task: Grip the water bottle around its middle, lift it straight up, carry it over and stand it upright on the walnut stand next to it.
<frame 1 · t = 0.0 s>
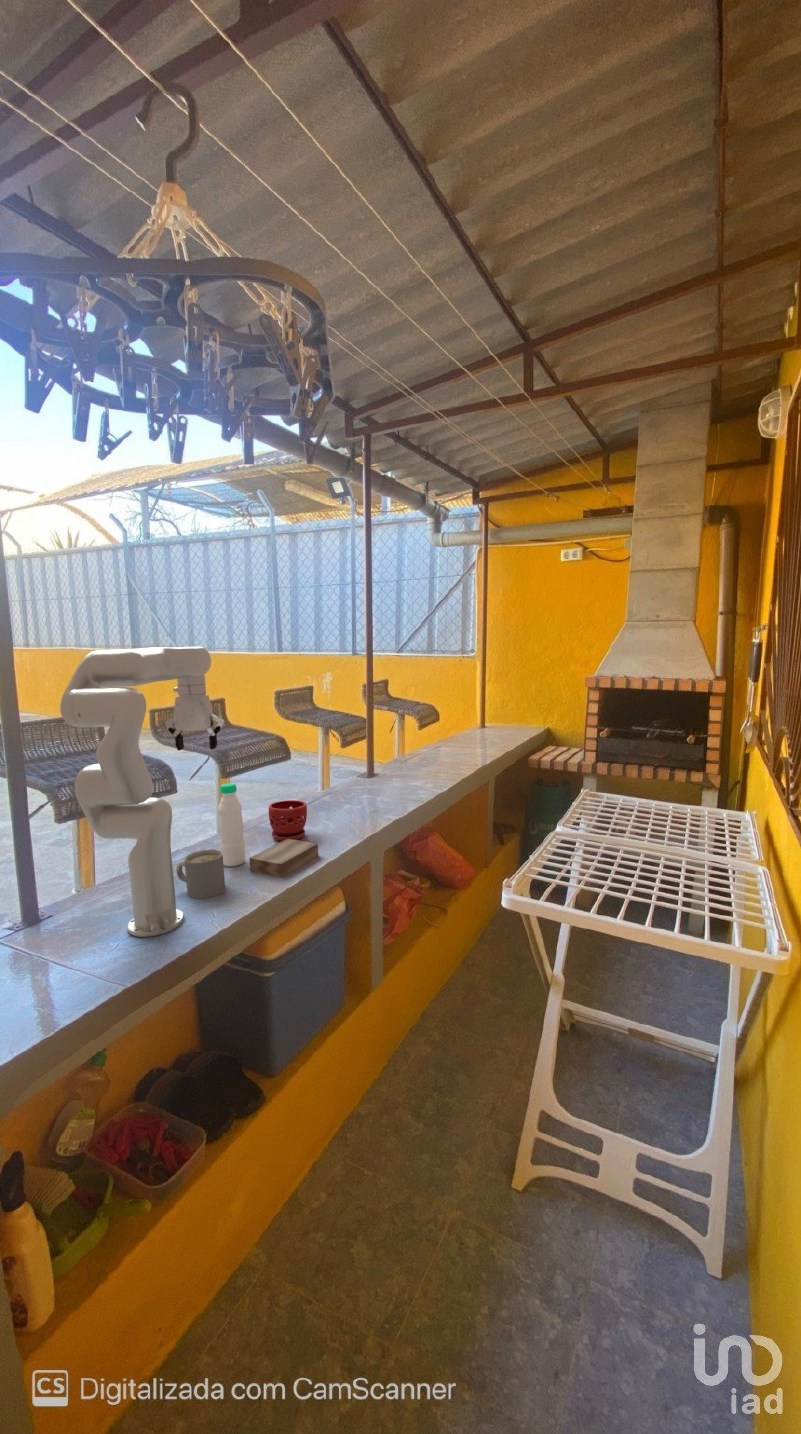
hand: (196, 749, 164), 37 cm above the table, tool pointing down, fingers open, 9 cm apart
coffee mug: (201, 890, 156), on the table
water bottle: (233, 863, 174), on the table
walnut stand: (285, 863, 173), on the table
plant pot: (289, 837, 197), on the table
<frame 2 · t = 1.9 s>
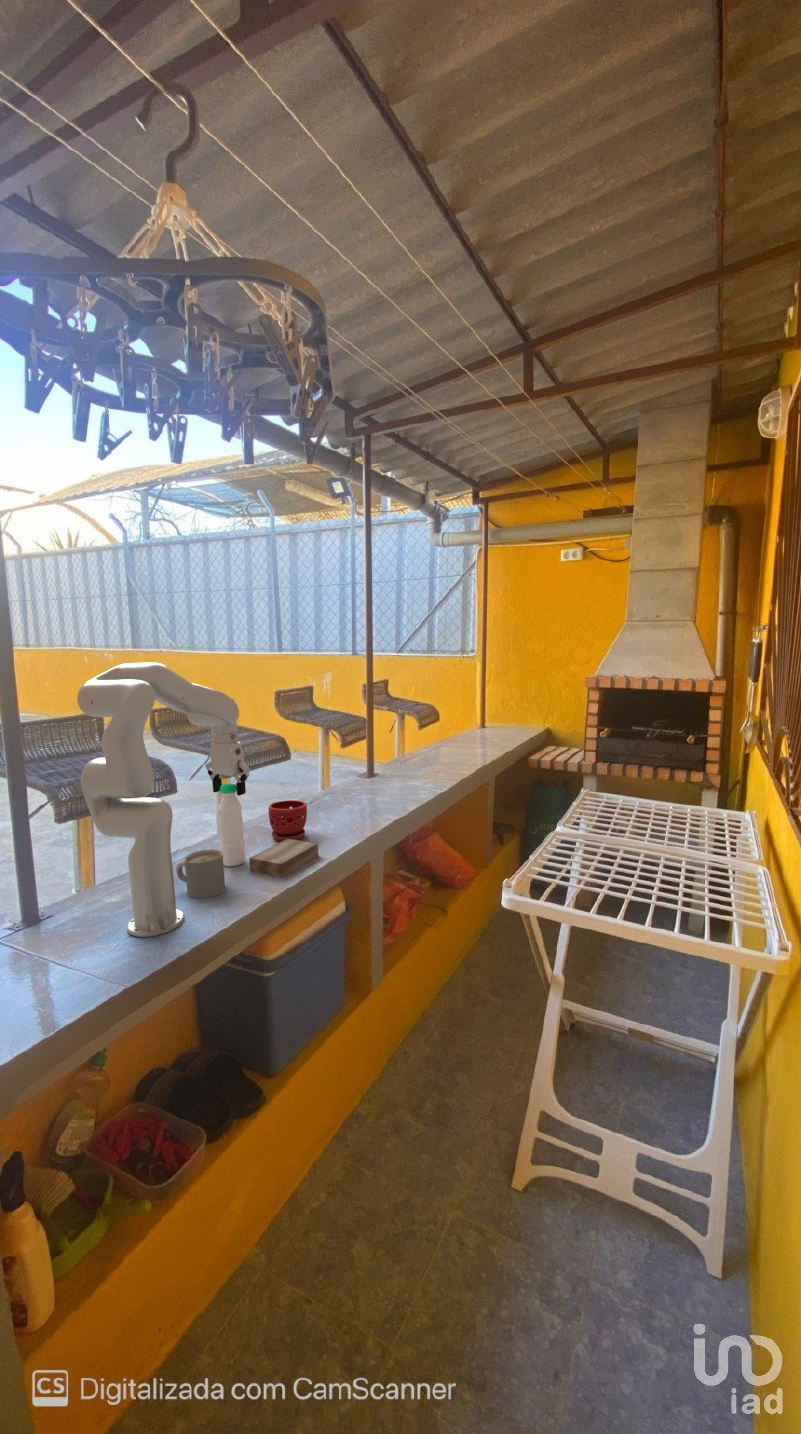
hand: (229, 792, 172), 22 cm above the table, tool pointing down, fingers open, 9 cm apart
nothing on the table moved.
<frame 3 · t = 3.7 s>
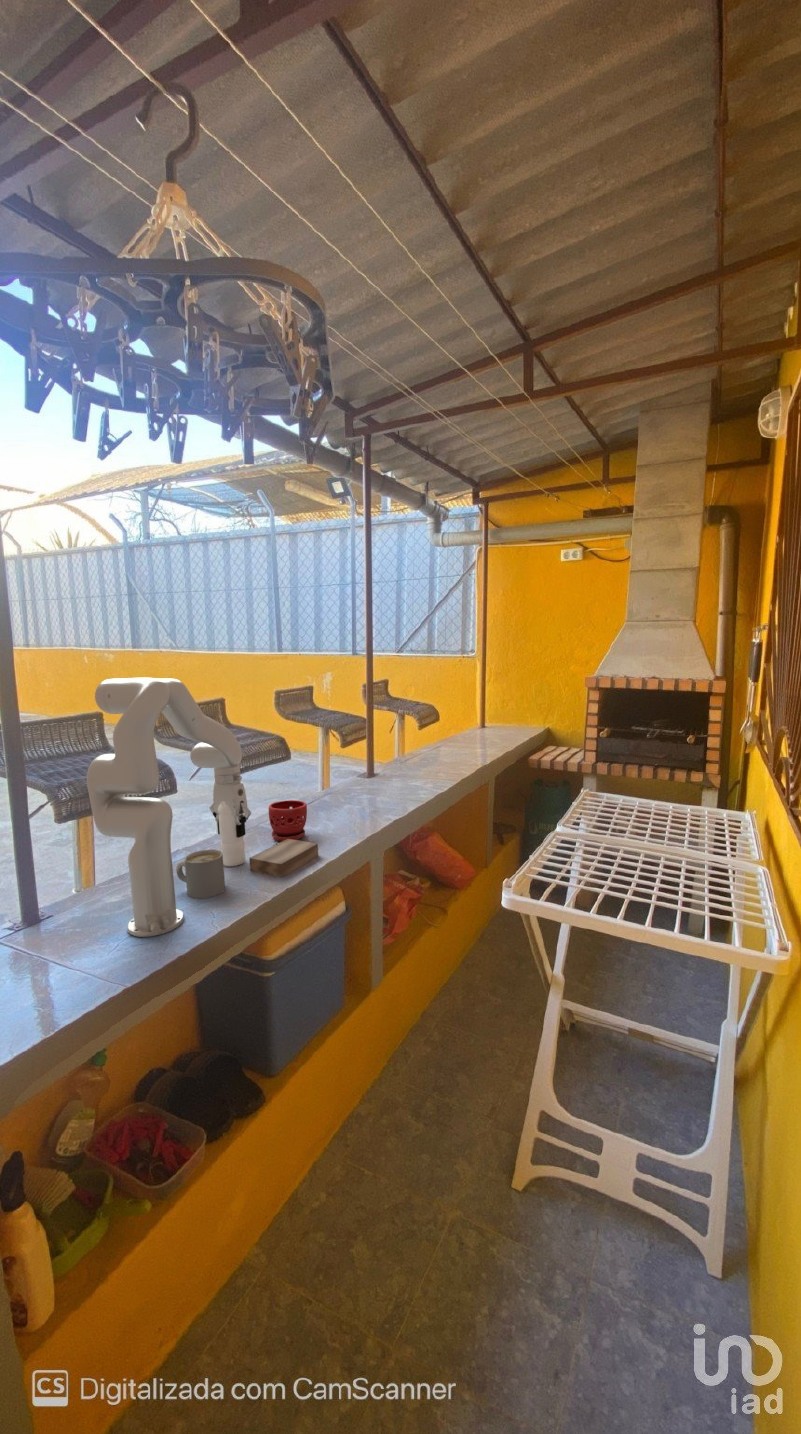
hand: (231, 834, 173), 9 cm above the table, tool pointing down, fingers closed on water bottle, 7 cm apart
water bottle: (233, 863, 174), on the table, touching gripper
everything else where it was.
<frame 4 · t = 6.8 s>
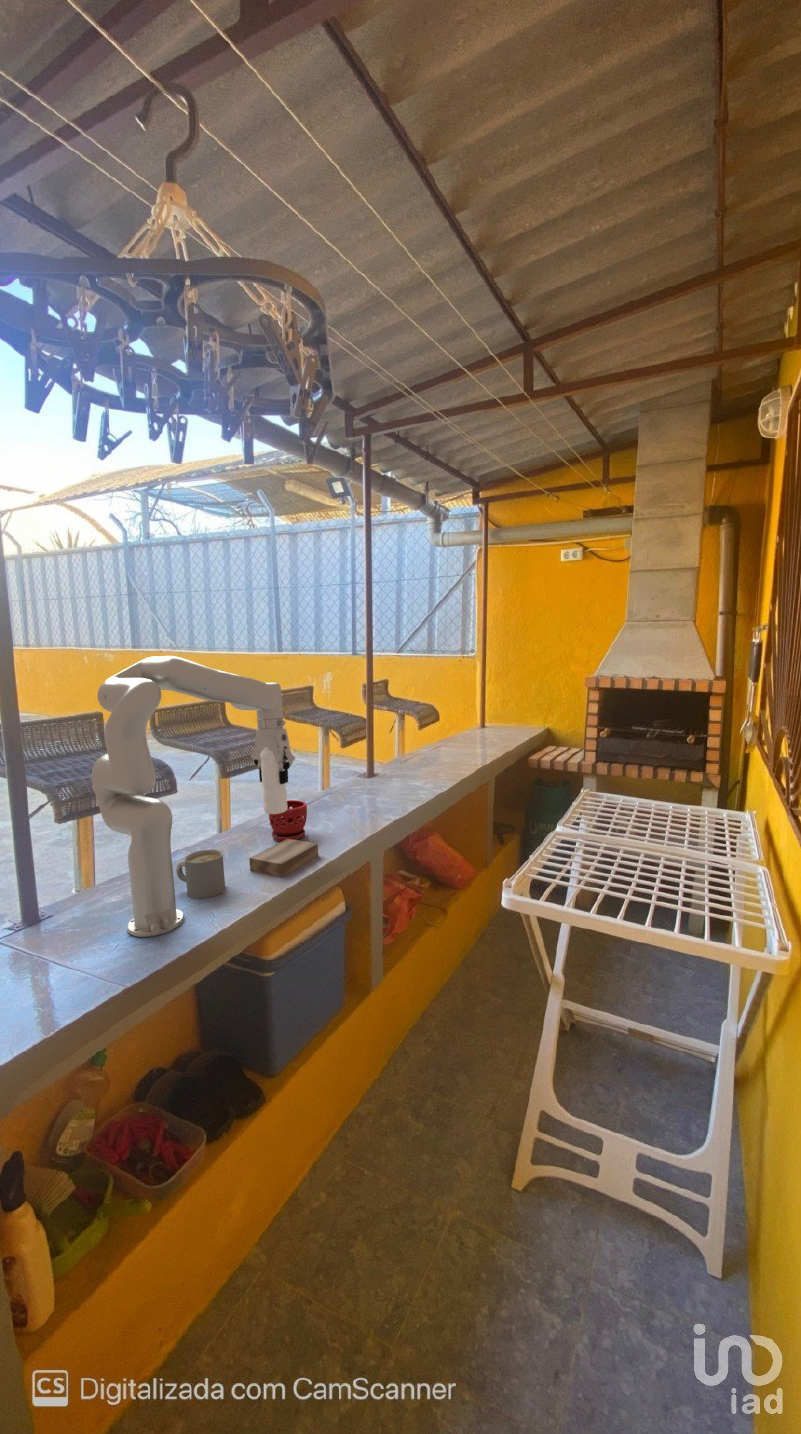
hand: (273, 781, 170), 26 cm above the table, tool pointing down, fingers closed on water bottle, 7 cm apart
water bottle: (275, 811, 171), point 16 cm above the table, touching gripper
everything else where it was.
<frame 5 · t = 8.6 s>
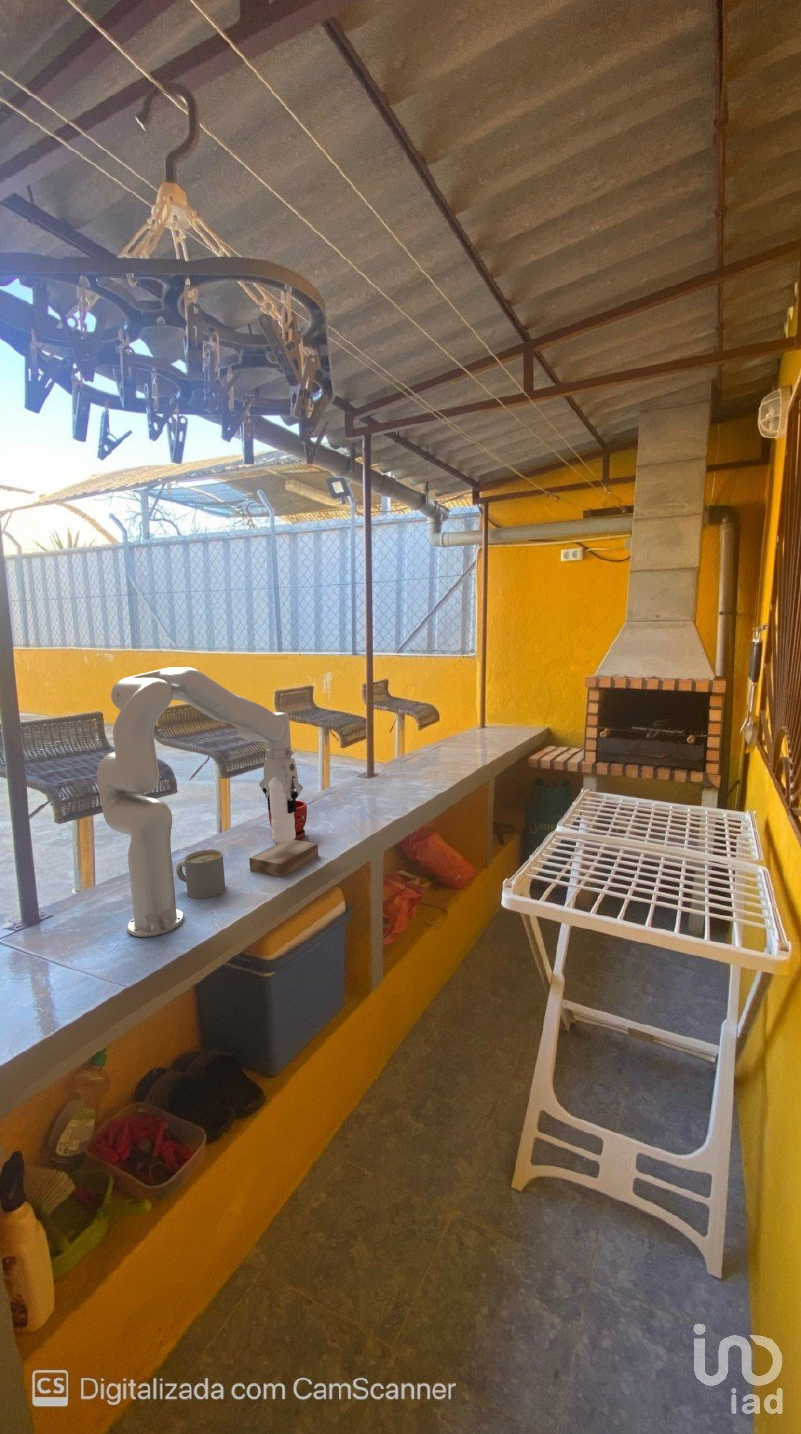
hand: (282, 810, 171), 17 cm above the table, tool pointing down, fingers closed on water bottle, 7 cm apart
water bottle: (284, 840, 172), point 7 cm above the table, touching gripper
everything else where it was.
when the fingers open (15 cm above the table, at t = 10.0 s): water bottle drops 1 cm, resting on walnut stand.
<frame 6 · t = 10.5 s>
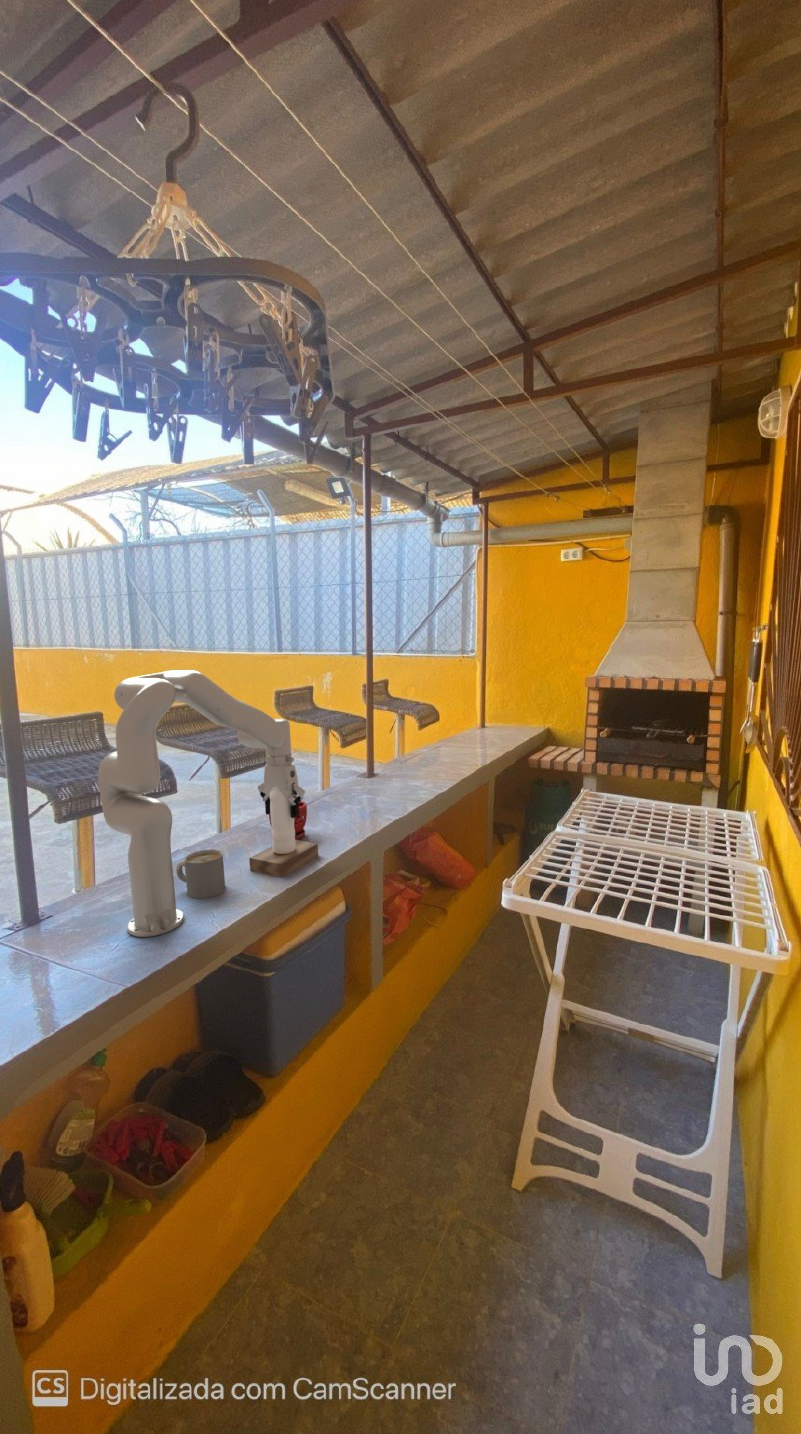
hand: (282, 815, 171), 15 cm above the table, tool pointing down, fingers open, 9 cm apart
water bottle: (284, 851, 172), point 4 cm above the table, touching walnut stand
everything else where it was.
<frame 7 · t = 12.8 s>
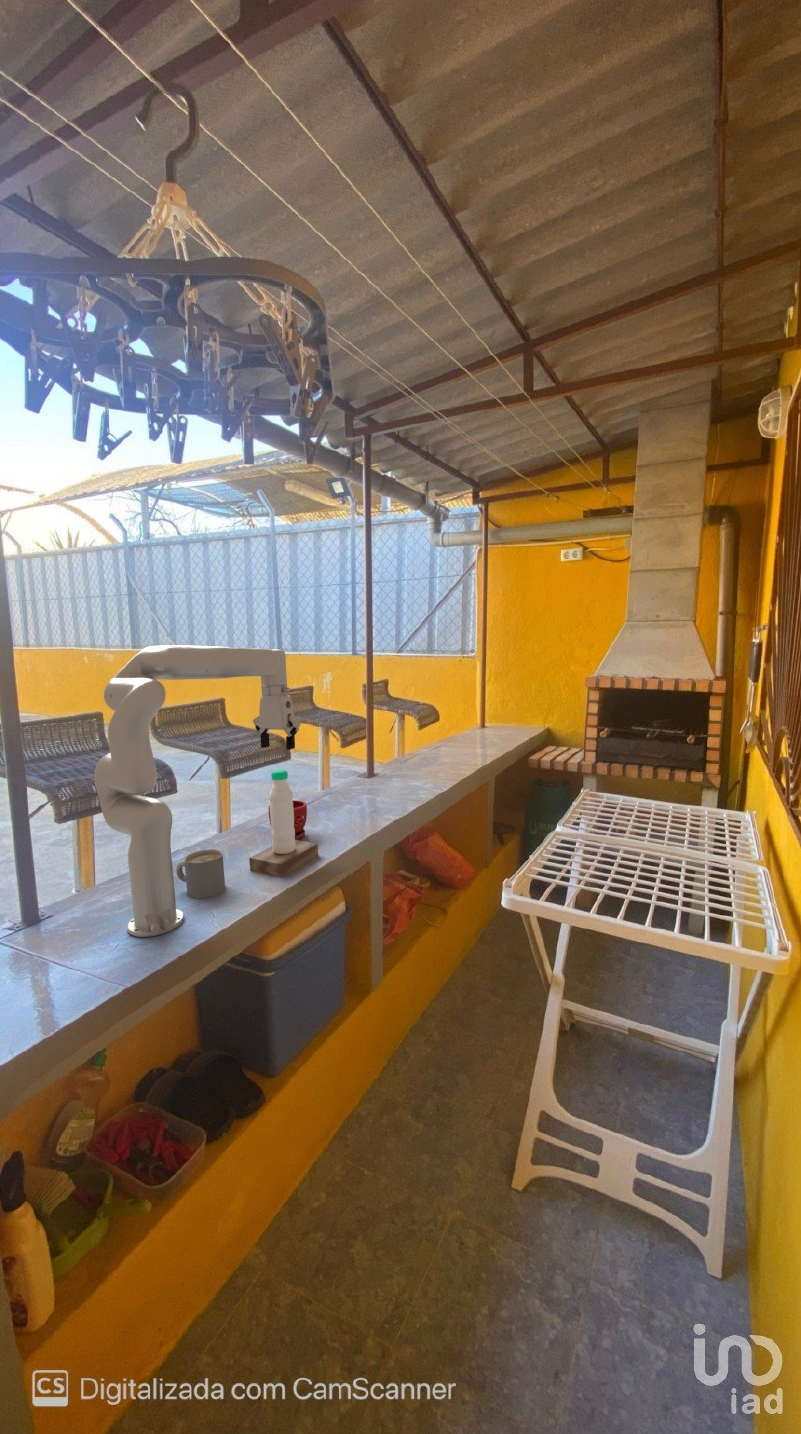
hand: (278, 748, 168), 36 cm above the table, tool pointing down, fingers open, 9 cm apart
nothing on the table moved.
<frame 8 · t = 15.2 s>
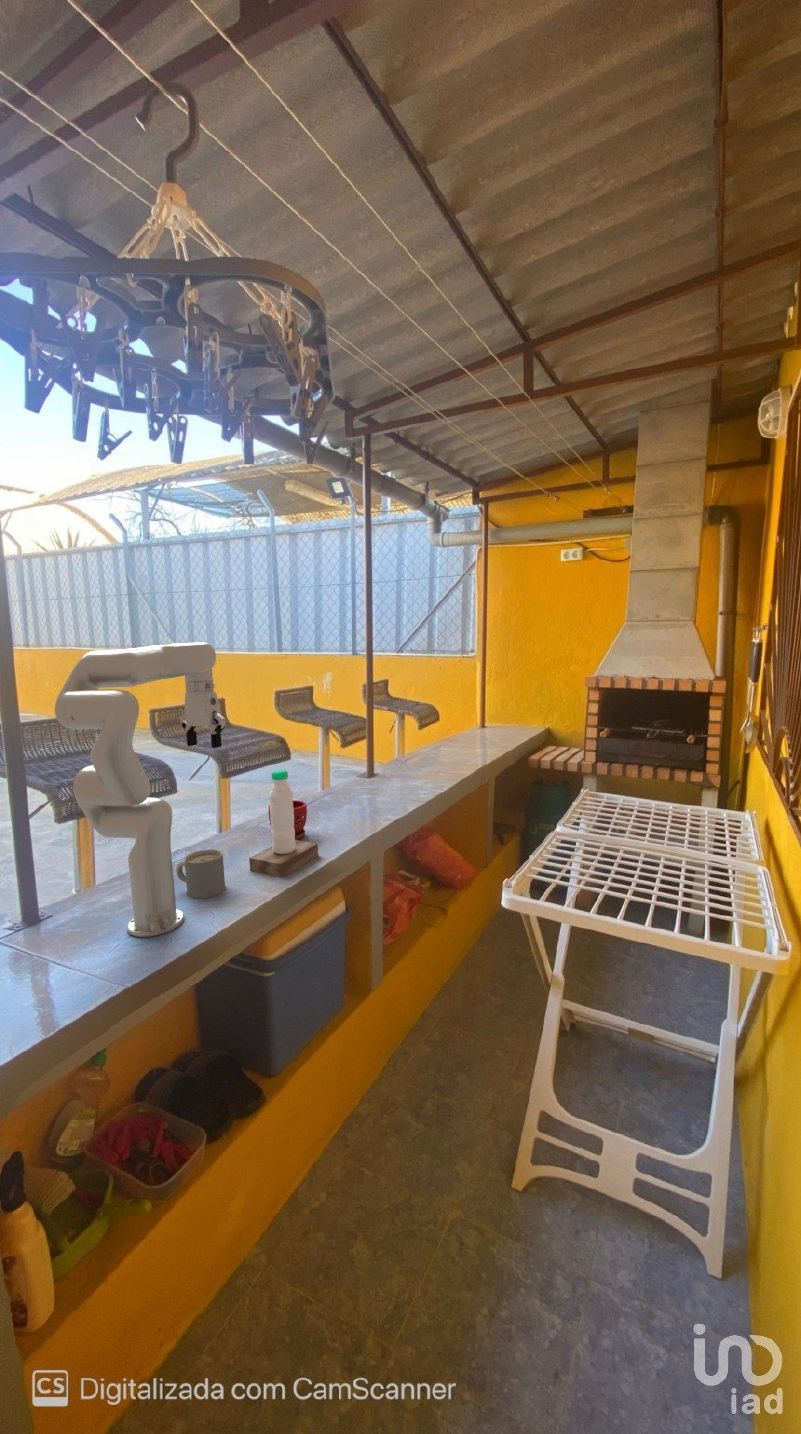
hand: (204, 746, 162), 38 cm above the table, tool pointing down, fingers open, 9 cm apart
nothing on the table moved.
at the end: water bottle inside the target area on the walnut stand (0.2 cm from its centre), point 3.8 cm above the walnut stand's base; water bottle tilted 0°; the gripper is holding nothing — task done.
